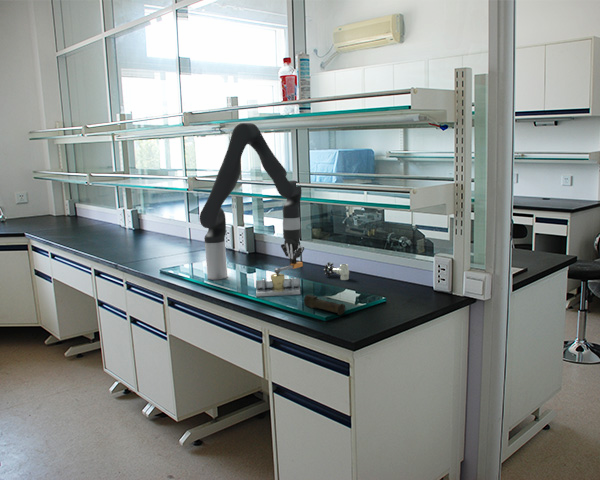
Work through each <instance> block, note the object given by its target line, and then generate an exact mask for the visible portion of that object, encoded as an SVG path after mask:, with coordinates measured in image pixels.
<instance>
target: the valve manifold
mask: <svg viewBox="0 0 600 480" xmlns="http://www.w3.org/2000/svg"><path fill="white" fill-rule="evenodd" d="M255 286H256V291H255V294H256V295H255V296H256V298H257V297H272V296H274V297H275V296H277V297H278V296H293V295H301V281H300V278H299V277H298V278H294V277H290V278H286V277H285V273H281V272H280V273H273V274H271V275H270V279H265V278H262V280H256V281H255Z"/></svg>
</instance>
